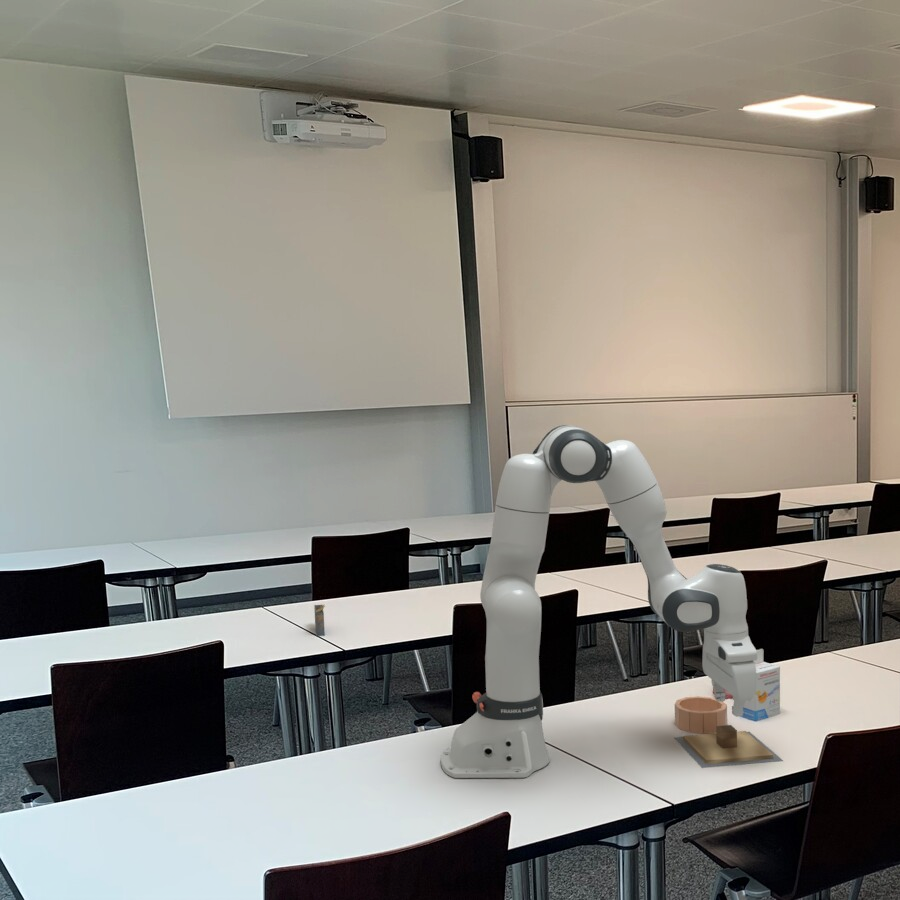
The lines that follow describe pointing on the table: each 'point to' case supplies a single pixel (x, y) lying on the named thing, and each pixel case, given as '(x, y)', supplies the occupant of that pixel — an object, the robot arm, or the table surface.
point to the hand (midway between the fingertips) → (728, 707)
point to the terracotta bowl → (700, 714)
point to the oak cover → (727, 746)
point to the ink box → (764, 691)
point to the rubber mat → (704, 765)
